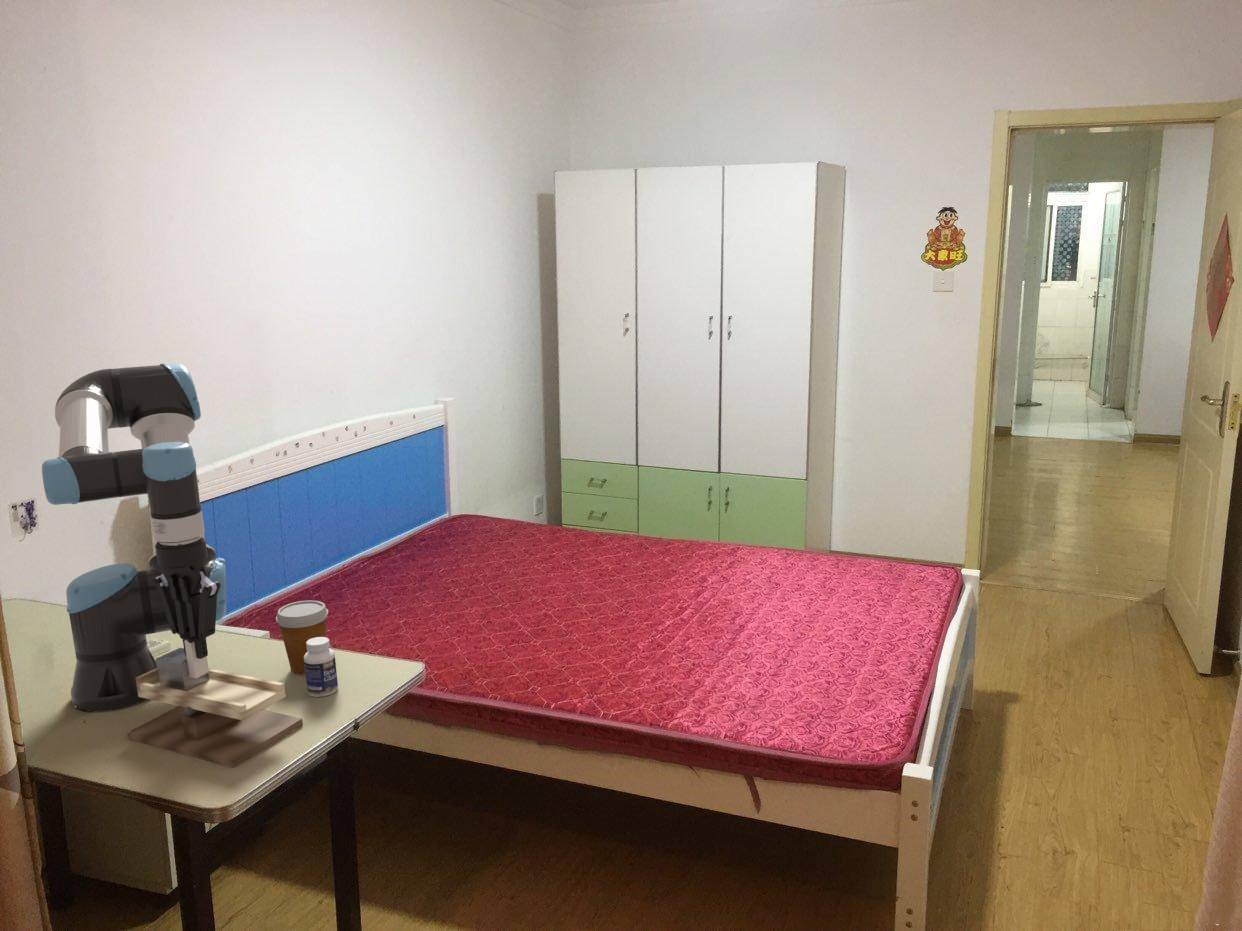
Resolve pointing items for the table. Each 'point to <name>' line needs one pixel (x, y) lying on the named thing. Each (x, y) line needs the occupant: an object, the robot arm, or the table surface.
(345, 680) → the table surface
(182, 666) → the block
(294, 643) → the disposable coffee cup
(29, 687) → the table surface
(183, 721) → the stand
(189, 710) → the balance beam
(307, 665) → the pill bottle
